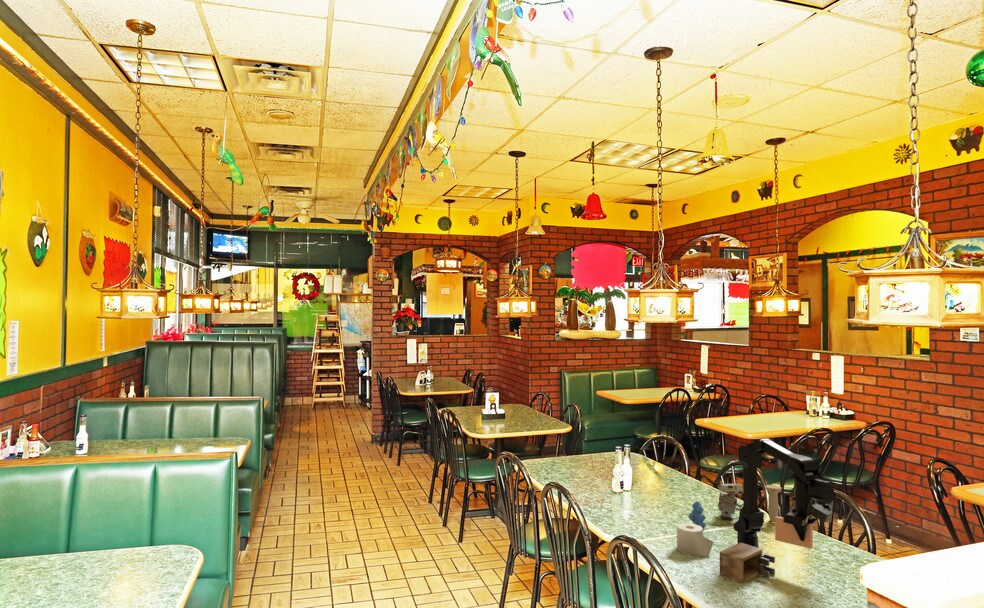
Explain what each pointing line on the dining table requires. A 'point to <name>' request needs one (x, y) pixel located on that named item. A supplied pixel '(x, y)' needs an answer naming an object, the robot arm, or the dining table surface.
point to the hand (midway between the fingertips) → (803, 540)
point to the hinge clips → (765, 565)
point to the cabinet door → (792, 534)
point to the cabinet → (739, 562)
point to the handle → (773, 501)
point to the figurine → (729, 499)
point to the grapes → (697, 515)
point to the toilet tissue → (692, 540)
